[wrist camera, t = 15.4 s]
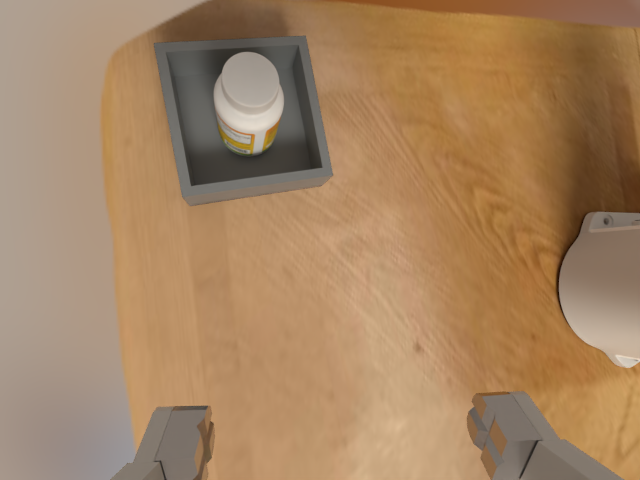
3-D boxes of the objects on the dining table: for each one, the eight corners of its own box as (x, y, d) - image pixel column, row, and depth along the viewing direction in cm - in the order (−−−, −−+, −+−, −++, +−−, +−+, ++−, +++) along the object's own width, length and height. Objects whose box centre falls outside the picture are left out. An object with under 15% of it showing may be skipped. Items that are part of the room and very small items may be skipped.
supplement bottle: (265, 97, 35) (275, 34, 25) (283, 149, 35) (299, 106, 25) (210, 109, 33) (199, 48, 24) (228, 164, 33) (225, 124, 24)
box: (297, 63, 36) (305, 35, 32) (321, 186, 36) (332, 175, 31) (164, 72, 33) (153, 43, 29) (189, 206, 33) (182, 197, 28)
